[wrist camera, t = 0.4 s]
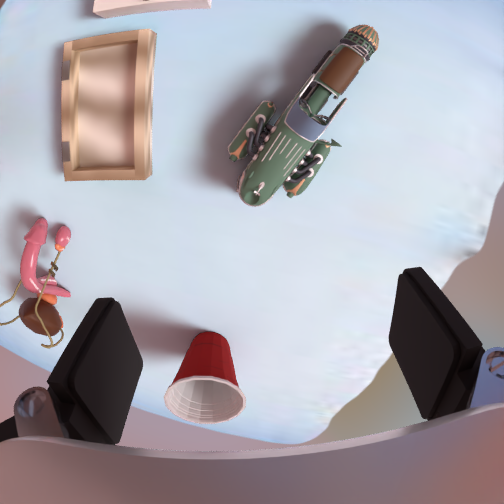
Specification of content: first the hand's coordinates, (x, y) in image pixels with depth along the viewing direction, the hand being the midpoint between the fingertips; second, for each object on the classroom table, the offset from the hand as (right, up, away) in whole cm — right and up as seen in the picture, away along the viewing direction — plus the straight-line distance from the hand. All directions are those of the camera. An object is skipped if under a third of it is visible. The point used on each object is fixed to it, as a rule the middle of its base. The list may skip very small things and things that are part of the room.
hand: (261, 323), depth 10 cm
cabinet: (-17, +20, +23) cm, 35 cm away
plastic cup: (-6, -12, +39) cm, 41 cm away
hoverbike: (+6, +19, +24) cm, 31 cm away
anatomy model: (-31, 0, +33) cm, 45 cm away
